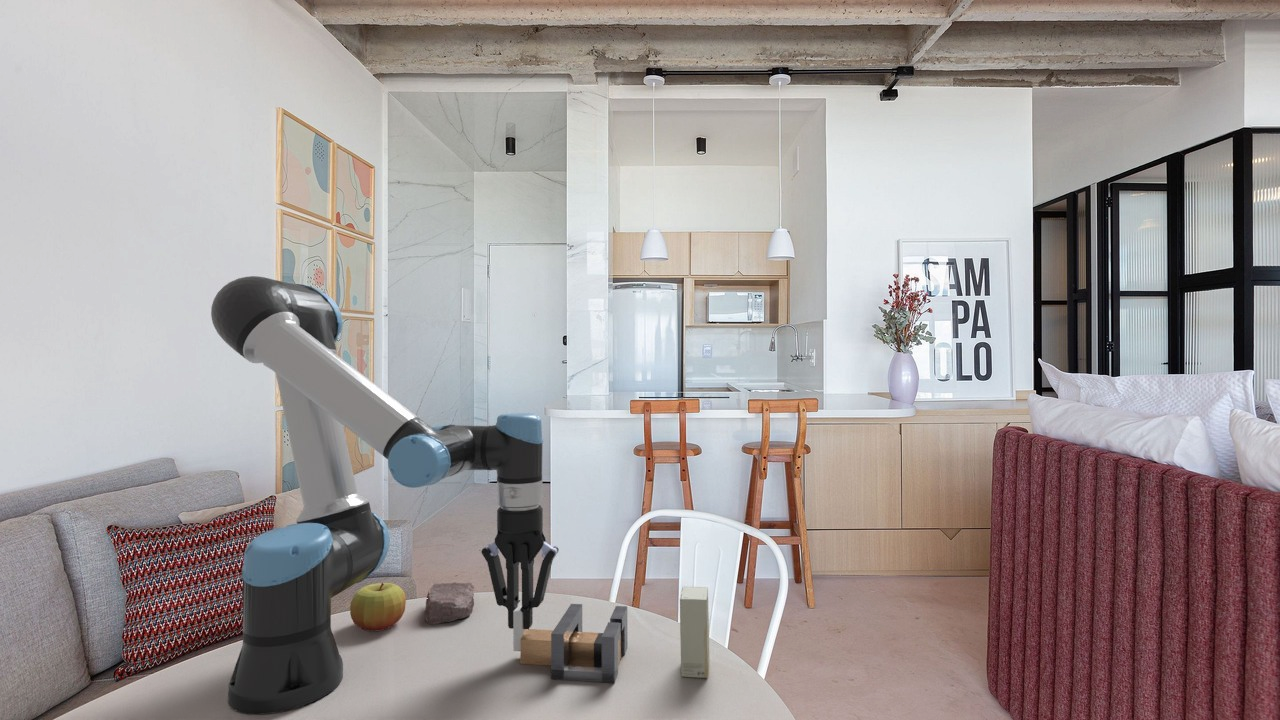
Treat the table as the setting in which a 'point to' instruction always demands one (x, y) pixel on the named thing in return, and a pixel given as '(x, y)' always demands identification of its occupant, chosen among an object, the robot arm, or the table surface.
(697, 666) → the skincare box
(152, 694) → the table surface
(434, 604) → the stone
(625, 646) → the grey open frame bracket
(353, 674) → the table surface
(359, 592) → the apple
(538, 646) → the block
